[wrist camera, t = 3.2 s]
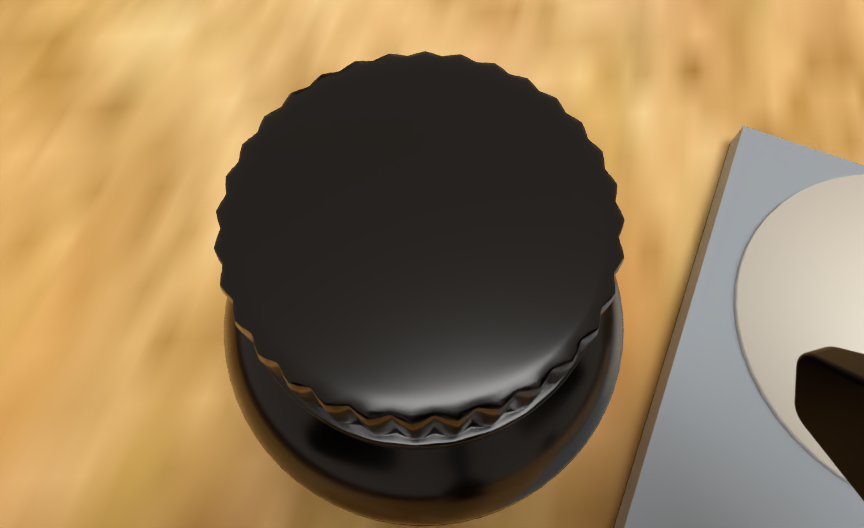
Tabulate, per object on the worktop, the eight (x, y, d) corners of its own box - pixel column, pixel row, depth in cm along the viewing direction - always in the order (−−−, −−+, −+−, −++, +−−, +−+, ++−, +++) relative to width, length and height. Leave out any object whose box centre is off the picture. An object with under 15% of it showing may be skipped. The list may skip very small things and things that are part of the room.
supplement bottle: (296, 511, 17) (23, 501, 6) (329, 279, 20) (182, -29, 9) (546, 531, 17) (752, 559, 6) (547, 293, 19) (689, -8, 8)
